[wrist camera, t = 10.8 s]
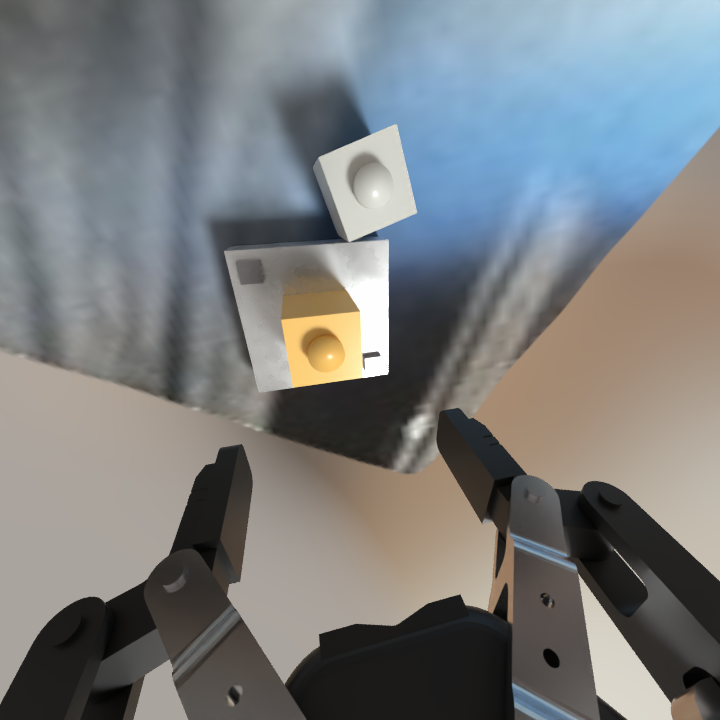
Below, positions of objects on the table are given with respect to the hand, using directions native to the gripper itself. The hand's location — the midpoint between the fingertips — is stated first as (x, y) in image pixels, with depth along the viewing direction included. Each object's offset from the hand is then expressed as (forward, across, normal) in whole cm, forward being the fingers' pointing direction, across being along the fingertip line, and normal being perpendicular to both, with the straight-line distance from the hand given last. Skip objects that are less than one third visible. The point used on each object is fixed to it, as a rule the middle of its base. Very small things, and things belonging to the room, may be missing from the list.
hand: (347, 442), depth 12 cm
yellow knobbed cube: (+14, 0, 0) cm, 14 cm away
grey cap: (+18, -4, -9) cm, 20 cm away
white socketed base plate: (+17, 0, 0) cm, 17 cm away
